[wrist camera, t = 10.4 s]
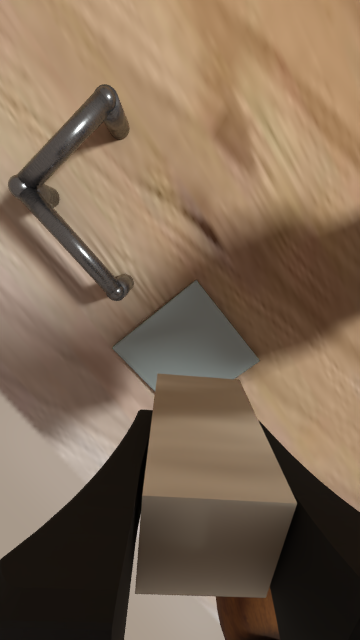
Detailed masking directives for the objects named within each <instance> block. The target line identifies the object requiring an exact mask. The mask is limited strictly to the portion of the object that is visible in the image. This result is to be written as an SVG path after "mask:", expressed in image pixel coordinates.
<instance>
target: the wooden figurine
mask: <svg viewBox="0 0 360 640" xmlns="http://www.w3.org/2000/svg"><path fill="white" fill-rule="evenodd" d="M216 602H217V610H218V615H219V620H220V625H221V628H222V631H223V634H224V637H225V640H280V636H279V630H278V625H277V620H276V614H275V610H274V605H273V600H272V595H271V590H270V586H269V589H268V592H267V595H266V598H257V597H224V596H216Z"/></svg>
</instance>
